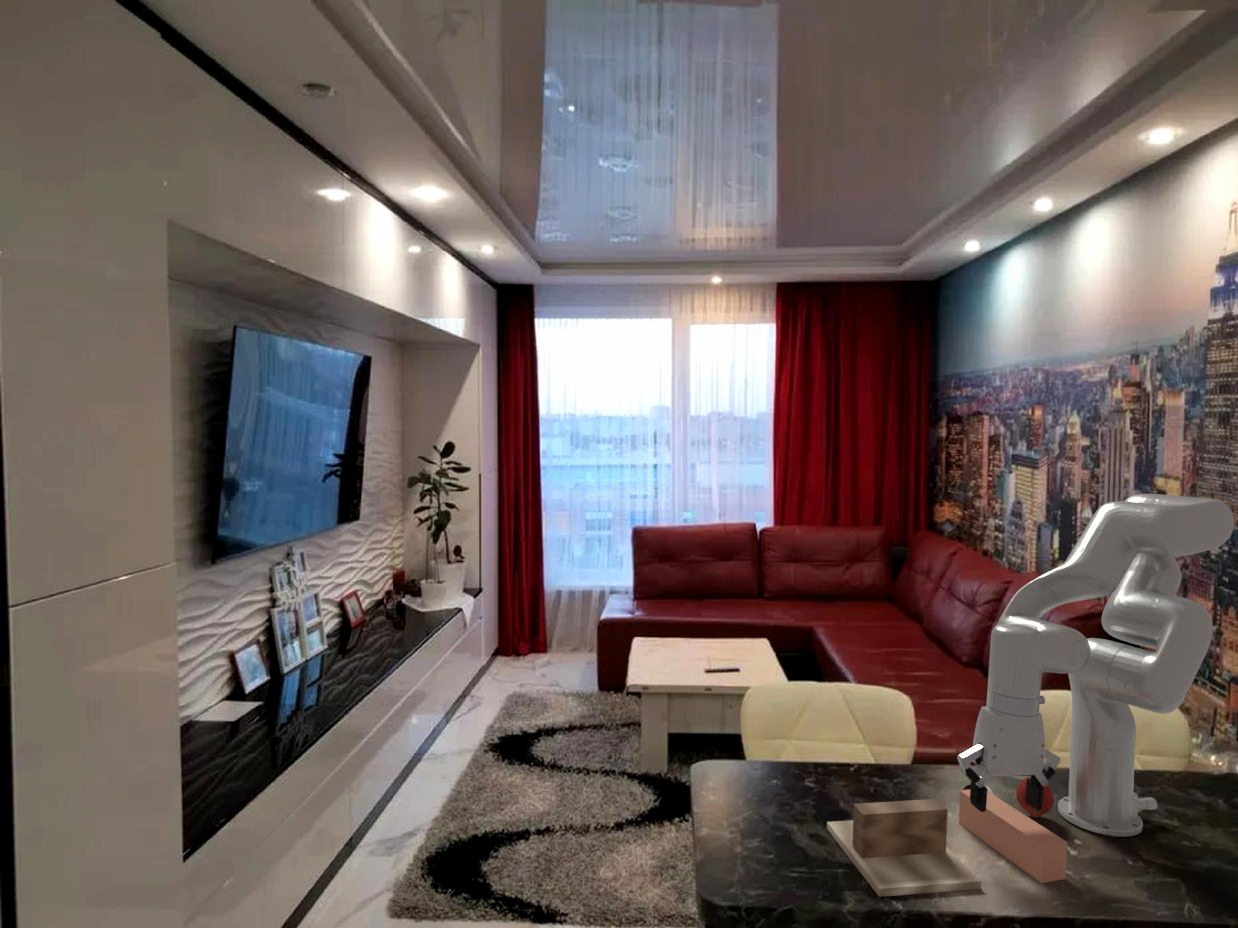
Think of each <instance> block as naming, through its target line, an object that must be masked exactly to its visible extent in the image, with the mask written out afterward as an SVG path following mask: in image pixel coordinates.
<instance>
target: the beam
mask: <svg viewBox="0 0 1238 928" xmlns="http://www.w3.org/2000/svg"><path fill="white" fill-rule="evenodd" d="M993 794H994V793H993ZM993 794H991V793H989V792H988V791H987V803H986V811H985V812H981V811H979V810H978V809H977V808H976V807H974V806H973V805H972V804H971V801H970V789H969V790H959V805H958V806H959V810H958V814H959V815H958V824H959V825H960V826H962V827H963V828H965V829H966V830H968V831H969V832H970V833H971V834H973V835H974V836H976V837H977V838H979V840H981V841H983V842H984V843H985V844H987V846H988V845H989V847H991V848H992V849H994V850H995V851H996V852H998V853H999V854H1001V856H1003V857H1004V858H1005V859H1007V860H1009V861H1010V862H1011V863H1013V864H1015V866H1017V867H1018V868H1020V869H1021V870H1023V871H1024V872H1025V873H1026V874H1028V875H1030V877H1032V878H1033V879H1035V880H1036V881H1038V882H1039V883H1040V884H1044V883H1050V882H1051V883H1052V882H1055V881H1061V880H1062V881H1063V880H1066V878H1067V877H1066V876H1067V855H1068V853H1067V852H1068V842H1067V841H1066V839H1065V840H1064V838H1062V837H1060V836H1059V835H1057V834H1056V833H1054V832H1052V831H1050V830H1049V829H1048V828H1047V827H1045V826H1043V825H1041V824H1039V823H1038V822H1037V821H1035V820H1034V819H1032V818H1030V817H1029V816H1027V815H1025V814H1024V813H1022V812H1021V811H1019V810H1018V809H1016V808H1015V807H1013V806H1011V805H1010V804H1008V803H1006V802H1005V801H1003V800H1001V799H1000V798H999V797H997V796H996V795H995V794H994V795H993Z"/></svg>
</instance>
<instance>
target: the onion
mask: <svg viewBox="0 0 1238 928" xmlns="http://www.w3.org/2000/svg"><path fill="white" fill-rule="evenodd" d="M1027 778H1030V779H1031V777H1030V776H1027V777H1025V778H1024V779H1022V780H1021V781H1020V782H1019V784H1018V786H1017V787H1016V789H1015V790H1016V791H1015V796H1016V800H1017V802H1018V803H1019V806H1020V807H1021V808H1022V810H1024V811H1025V812H1026V813H1028V814H1029V815H1030V817H1032V818H1034V819H1038V818H1040V817H1041V816H1043V815H1045V814H1047V813H1048V812H1049V811H1051V809H1053V807H1054V804H1055V801H1054V800H1055V797H1054V794H1053V791H1052V789H1051V787H1050V786H1049V784H1048V785H1047V786H1044V791H1043V802H1042V810H1041V811H1037V810H1036V809H1034V808H1033V807H1031V806H1030V805H1029V804H1027V803H1026V802H1025V797H1026V782H1027Z"/></svg>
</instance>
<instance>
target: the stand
mask: <svg viewBox="0 0 1238 928" xmlns="http://www.w3.org/2000/svg"><path fill="white" fill-rule="evenodd" d="M852 811H853V815H852V816H853V818H852V819H851V820H849V819H848V820H836V821H826V830H827V832H829V834H830V835H831V836H832V837H833V839H834V840H835V841H836V843H837V844H838V845H839V846H840V848H841V849H842V850H843V852H844V853H845V855H846V856H847V857H848V858H849V859H850V861H851V863H853V865H854V866H855V868H856V869H857V870H858V872H859V873H860V874H861V875H862V877H864V879H865V880H866V881H867V883H868V884H869V886H870V887H871V889H873V891H874V892H875V893H876V895H877V896H878V898H880V897H881V898H882V897H892V896H905V895H908V896H909V895H918V894H932V893H933V894H934V893H944V892H957V891H960V892H961V891H970V890H971V891H972V890H981V889H982V880H981V879H980V878H979V877H978V876H977V875H976V874H975V873H974V872H973V871H972V870H971V869H970V868H969V867H968V866H967V865H966V864H965V863H964V862H963V861H962V860H961V859H960V858H959V857H957V855H955V854H954V852H953V851H951V849H949V848H948V847H947V833H948V832H947V831H948V826H947V825H948V808H946V807H945V806H944V805H943V804H942V803H941V802H940V801H939V800H938V799H936V798H926V799H912V800H909V799H908V800H898V801H897V800H896V801H881V802H880V801H879V802H878V801H877V802H863V803H861V802H859V803H853V810H852Z"/></svg>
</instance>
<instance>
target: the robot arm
mask: <svg viewBox="0 0 1238 928" xmlns="http://www.w3.org/2000/svg"><path fill="white" fill-rule="evenodd" d="M1234 527H1235V518H1234V514H1233V511H1232V509H1230V507H1229V506H1228V505H1227V504H1226V503H1225V502H1222V501H1221V500H1219V499H1215V498H1207V497H1197V496H1196V497H1194V496H1183V495H1172V494H1161V493H1139V494H1134V495H1130V496H1129V497H1127V498H1126V499H1125V500H1121V501H1120V500H1118V501H1117V500H1116V501H1115V500H1114V501H1110V502H1106V503H1104V504H1102V505H1101V506H1099V507H1098V508H1097V510H1096V511H1095V512H1094V514H1093V515H1092V517H1091V518H1090V521H1089V522H1088V524H1087V525H1086V527H1085V529H1084V531H1083V532H1081V533H1082V534H1080V537H1079V538H1078V540H1077V541H1076V543H1075V545H1074V546H1073V548H1072V550H1071V551H1070V553H1069V554H1068V556H1067V558H1066V559H1065V561H1064V562H1063V563H1062V564H1061V565H1060V566H1058V567H1054V568H1053V569H1051V570H1049V571H1047V572H1045V573H1043V574H1041V575H1040V576H1038V577H1036V578H1034V579H1033V580H1031V581H1029V582H1028V583H1026V584H1025V585H1023V586H1022V587H1021V588H1019V590H1018V591H1016V592H1015V593H1014V595H1013V596H1011V597H1012V598H1011V599H1010V601H1009V602H1008V604H1007V606H1006V607H1005V609H1004V610H1003V612H1002V614H1001V615H1000V616H999V619H998V622H997V624H996V625H995V626H994V627H992V628H993V629H992V630H991V634H990V635H991V636H990V648H989V663H988V677H987V679H988V680H987V692H986V693H987V695H986V706H985V705H984V706H983V705H982V706H981V708H980V711H979V713H978V716H977V720H976V724H975V729H974V735H973V743H972V747H970V748H969V749H967V750H965V751H964V752H962V753H960V754H958V755H957V757H956V760H957V762H958V764H959V767H960V768H961V772H963V774H964V775H965V776H966V778H967V779H968V780H969V781H970V784H971V788H970V801H971V804H972V805H973V806H974V807H976V808H977V809H978V810H979V811H981V812H985V811H986V803H987V788H986V785H987V782H988V781H989V780H990V779H991V778H992V777H997V776H998V777H1007V776H1008V777H1015V776H1016V777H1019V776H1020V777H1021V776H1023V777H1026V776H1027V777H1031V779H1030V778H1027V777H1026V778H1027V782H1026V797H1025V802H1026V803H1027V804H1029V805H1030V806H1031V807H1033V808H1034V809H1036V810H1037V811H1041V810H1042V802H1043V791H1044V786H1047V785H1048V786H1049V780H1050V779H1051V778H1052V777H1053V776H1054V775H1055V773H1056V771H1055V770H1056V769H1057V767H1058V766H1059V763H1060V762H1061V757H1060V756H1059V755H1057V754H1055V753H1053V752H1051V751H1050V750H1048V749H1046V745H1045V743H1046V740H1045V739H1046V738H1045V728H1044V721H1043V715H1042V713H1040V705H1045V703H1046V698H1045V697H1044V696H1043V695H1041V688H1042V676H1043V675H1042V674H1043V673H1053V674H1054V673H1055V674H1067V675H1068V679H1069V685H1070V686H1069V687H1070V691H1071V706H1072V707H1071V729H1070V748H1069V749H1070V750H1069V751H1070V752H1069V753H1070V755H1069V756H1070V757H1069V774H1068V775H1069V776H1068V777H1069V778H1068V795H1067V796H1064V797H1062V798H1061V799H1059V801H1058V804H1057V810H1058V813H1059V814H1060V815H1061V816H1062V817H1063V819H1065V820H1066V821H1068V822H1070V823H1071V824H1073V825H1074V826H1077V827H1079V828H1080V829H1084V830H1087V831H1089V832H1092V833H1095V834H1099V835H1103V836H1110V837H1118V838H1119V837H1120V838H1125V837H1135V836H1136V835H1137V836H1138V835H1139V834H1140V833H1142V831H1143V827H1144V823H1143V819H1142V818H1141V817H1140V816H1139V815H1138V814H1139V813H1141V812H1142V811H1143V810H1146V811H1147V810H1148V811H1149V810H1157V808H1158V801H1157V800H1156V798H1154V797H1141V798H1139V795H1138V794H1137V792H1134V782H1135V779H1134V778H1135V763H1136V762H1135V760H1136V741H1137V724H1136V720H1135V717H1134V713H1133V712H1132V709H1131V707H1130V706H1132V707H1135V708H1138V709H1142V710H1146V711H1149V712H1152V713H1156V714H1164V715H1165V714H1169V713H1172V712H1174V711H1176V710H1177V709H1178V708H1179V707H1180V706H1181V705H1182V703H1183V701H1184V700H1185V698H1186V696H1187V694H1188V692H1189V691H1190V688H1191V686H1192V684H1193V682H1194V681H1195V678H1196V676H1197V673H1198V672H1199V670H1200V667H1201V665H1202V663H1203V661H1204V659H1205V658H1206V657H1205V656H1206V655H1207V652H1208V650H1209V648H1210V645H1211V641H1212V639H1213V634H1214V633H1213V632H1214V629H1213V619H1212V616H1211V613H1210V612H1209V611H1208V609H1207V608H1206V606H1203V605H1202V604H1201V603H1200V602H1197V601H1195V600H1191V599H1188V598H1184V597H1178V596H1176V594H1177V592H1178V590H1179V587H1180V585H1181V583H1182V579H1183V577H1182V576H1183V575H1182V574H1183V573H1182V571H1181V567H1180V565H1179V563H1178V561H1177V560H1176V558H1178V557H1179V558H1180V557H1186V556H1191V555H1195V554H1200V553H1204V552H1207V551H1213V550H1216V549H1217V548H1219V547H1222V546H1223V545H1224V544H1225V543H1226V542H1227V541H1228V540H1229V539H1230V537H1231V535H1232V533H1233V531H1234V529H1235V528H1234ZM1109 595H1110V596H1109ZM1105 596H1109V598H1108V600H1107V602H1106V603H1105V606H1104V608H1103V611H1102V615H1101V620H1100V621H1101V625H1102V628H1103V630H1104V631H1105V632H1106V633H1107V634H1108V635H1109V636H1112V637H1113V638H1115V639H1118V640H1120V641H1124V642H1127V643H1130V644H1133V645H1137V646H1141V647H1145V648H1149V649H1154V650H1155V652H1154V651H1151V650H1147V649H1143V648H1139V647H1135V646H1133V645H1129V644H1125V643H1122V642H1121V643H1120V642H1117V641H1114V640H1110V639H1105V638H1096V637H1089V638H1087V637H1086V636H1085V635H1084V634H1082V632H1080V631H1079V630H1077V629H1074V628H1072V627H1070V626H1066V625H1061V624H1058V623H1054V622H1051V621H1047V620H1044V619H1043V620H1042V619H1041V617H1042V616H1043V615H1044V614H1046V613H1047V612H1049V611H1050V610H1052V609H1055V608H1056V607H1059V606H1061V605H1066V604H1069V603H1075V602H1081V601H1086V600H1091V599H1097V598H1101V597H1105ZM971 763H973V764H974V767H973V768H972V764H971Z"/></svg>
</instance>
